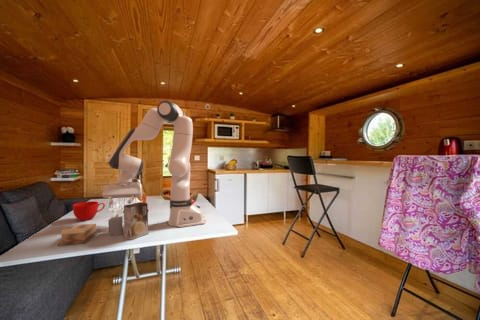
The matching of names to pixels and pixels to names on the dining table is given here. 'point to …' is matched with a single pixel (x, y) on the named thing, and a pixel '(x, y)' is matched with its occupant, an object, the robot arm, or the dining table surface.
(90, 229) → the display stand
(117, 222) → the grey block
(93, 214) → the red cup
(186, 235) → the dining table surface
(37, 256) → the dining table surface
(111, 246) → the dining table surface
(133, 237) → the coffee box
